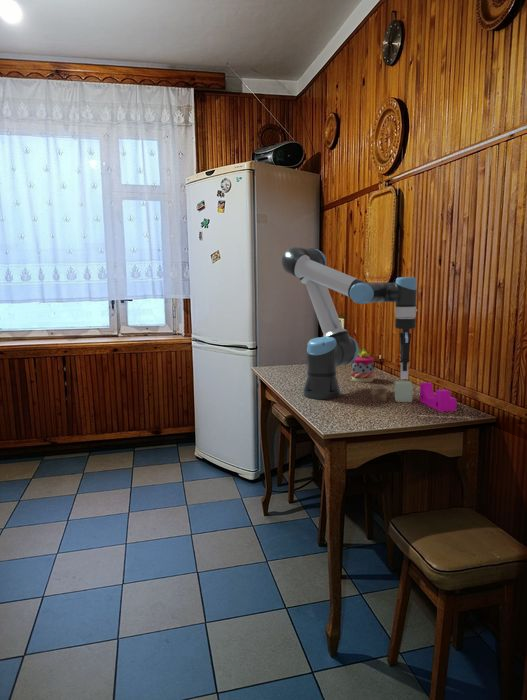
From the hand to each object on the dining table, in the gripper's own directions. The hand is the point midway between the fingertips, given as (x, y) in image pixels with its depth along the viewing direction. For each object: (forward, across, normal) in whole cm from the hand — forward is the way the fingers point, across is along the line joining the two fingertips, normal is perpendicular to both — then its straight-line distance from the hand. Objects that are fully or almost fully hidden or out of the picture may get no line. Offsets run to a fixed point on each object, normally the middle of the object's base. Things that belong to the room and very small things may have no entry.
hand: (404, 378), depth 181 cm
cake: (+8, +34, +15) cm, 38 cm away
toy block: (+9, -7, -11) cm, 16 cm away
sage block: (+9, 0, 0) cm, 9 cm away
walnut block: (+9, -1, +10) cm, 13 cm away
